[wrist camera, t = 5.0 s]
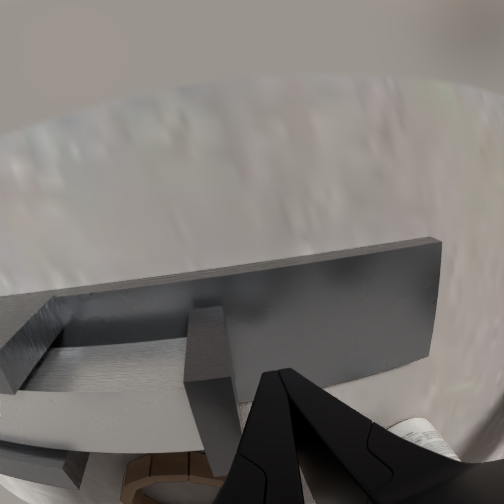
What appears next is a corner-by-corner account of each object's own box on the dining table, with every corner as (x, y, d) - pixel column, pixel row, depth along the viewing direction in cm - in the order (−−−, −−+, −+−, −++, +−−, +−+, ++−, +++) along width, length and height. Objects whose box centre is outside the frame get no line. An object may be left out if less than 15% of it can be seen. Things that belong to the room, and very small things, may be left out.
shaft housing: (430, 234, 11) (518, 270, 7) (418, 349, 13) (480, 409, 8) (-78, 303, 9) (-133, 344, 5) (-39, 392, 11) (-78, 444, 6)
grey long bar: (222, 305, 10) (230, 376, 6) (237, 394, 11) (250, 472, 7) (-80, 329, 8) (-121, 364, 5) (-50, 392, 9) (-82, 432, 6)
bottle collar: (241, 445, 13) (245, 468, 12) (256, 507, 15) (259, 526, 13) (105, 452, 12) (100, 473, 11) (148, 513, 14) (147, 531, 13)
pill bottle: (404, 462, 16) (456, 545, 8) (350, 468, 15) (398, 570, 7) (440, 412, 15) (511, 497, 7) (386, 416, 14) (460, 526, 6)
